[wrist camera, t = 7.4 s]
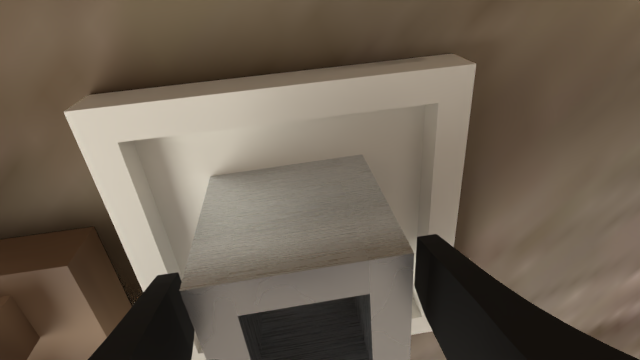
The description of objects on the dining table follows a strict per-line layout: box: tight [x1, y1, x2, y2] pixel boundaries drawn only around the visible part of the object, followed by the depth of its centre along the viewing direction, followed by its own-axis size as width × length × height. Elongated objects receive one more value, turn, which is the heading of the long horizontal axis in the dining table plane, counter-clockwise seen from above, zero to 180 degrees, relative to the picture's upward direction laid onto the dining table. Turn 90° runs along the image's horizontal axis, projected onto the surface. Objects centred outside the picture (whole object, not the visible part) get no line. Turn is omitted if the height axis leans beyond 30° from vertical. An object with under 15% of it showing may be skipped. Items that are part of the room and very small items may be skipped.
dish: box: [64, 53, 476, 360], centre depth 13 cm, size 11×11×2 cm
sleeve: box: [179, 155, 414, 360], centre depth 11 cm, size 5×5×5 cm
